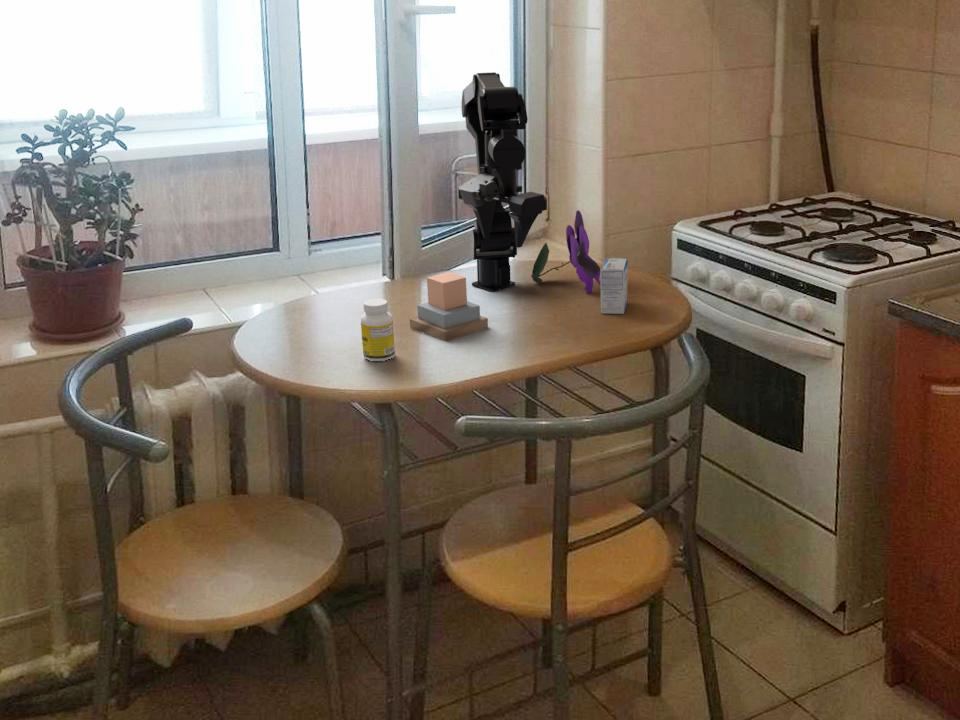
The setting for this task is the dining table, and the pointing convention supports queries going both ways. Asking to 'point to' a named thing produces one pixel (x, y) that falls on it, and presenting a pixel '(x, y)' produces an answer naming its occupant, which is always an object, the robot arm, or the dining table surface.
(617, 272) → the medicine box
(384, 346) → the supplement bottle
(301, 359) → the dining table surface
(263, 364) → the dining table surface
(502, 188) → the robot arm
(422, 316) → the top block
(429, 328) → the bottom block
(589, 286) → the flower
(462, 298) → the terracotta cube
